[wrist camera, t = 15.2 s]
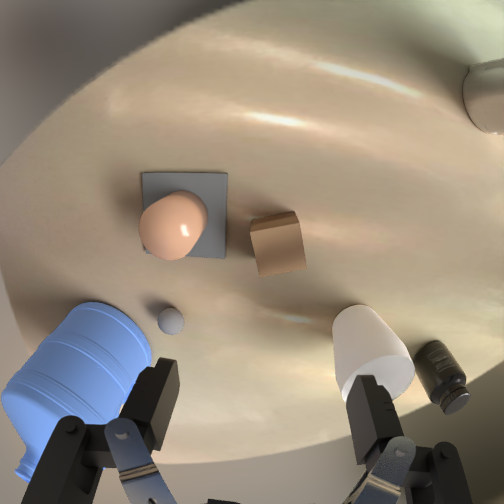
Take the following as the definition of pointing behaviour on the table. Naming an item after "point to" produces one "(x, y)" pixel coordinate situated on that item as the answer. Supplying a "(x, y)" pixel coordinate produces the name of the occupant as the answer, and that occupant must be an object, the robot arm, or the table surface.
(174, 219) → the peach rounded capsule
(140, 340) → the water jug
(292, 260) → the walnut block
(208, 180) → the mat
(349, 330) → the cup
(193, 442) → the table surface
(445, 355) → the supplement bottle
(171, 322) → the grey ball
